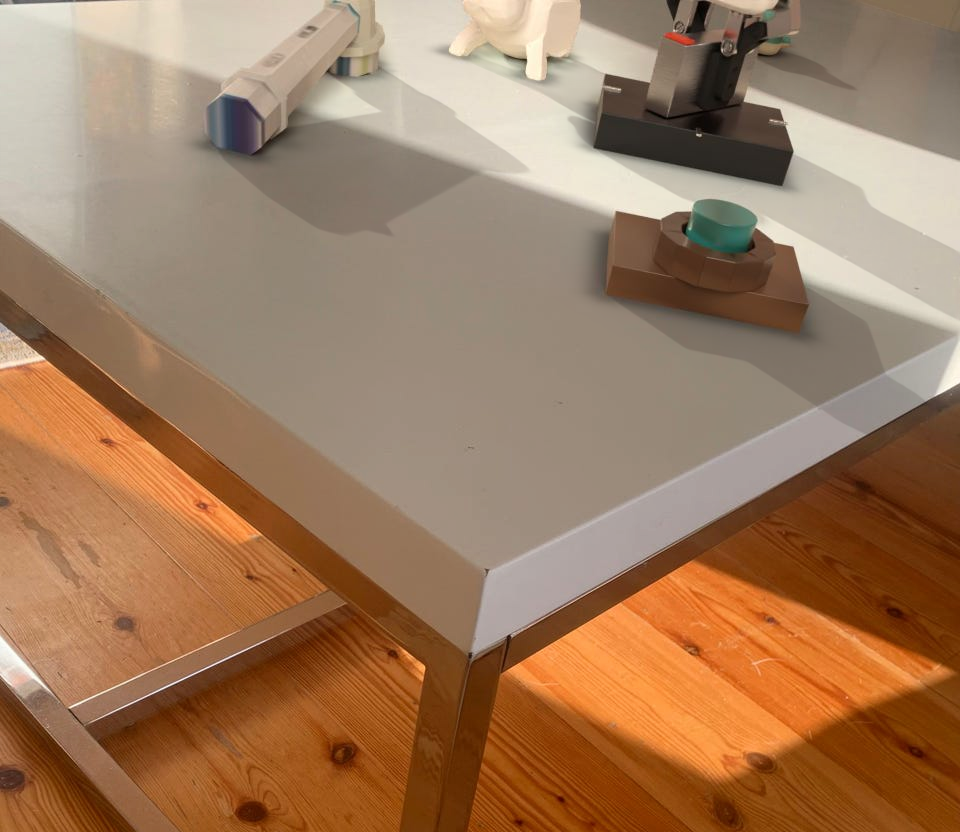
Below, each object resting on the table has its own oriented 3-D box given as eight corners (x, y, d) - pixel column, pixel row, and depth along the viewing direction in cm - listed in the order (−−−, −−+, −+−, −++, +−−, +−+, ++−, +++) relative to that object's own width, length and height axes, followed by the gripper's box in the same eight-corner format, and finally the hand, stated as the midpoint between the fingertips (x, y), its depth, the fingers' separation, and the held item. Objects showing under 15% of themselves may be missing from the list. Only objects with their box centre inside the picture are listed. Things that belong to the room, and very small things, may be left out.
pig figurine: (483, 75, 102) (418, 37, 89) (513, -23, 100) (450, -78, 86) (568, 102, 100) (514, 67, 86) (600, 2, 98) (551, -50, 84)
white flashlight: (190, 84, 68) (331, -47, 85) (196, 185, 72) (329, 42, 90) (272, 104, 67) (397, -31, 84) (273, 205, 72) (391, 57, 89)
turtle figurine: (720, 45, 113) (732, 5, 111) (745, 35, 118) (756, -4, 116) (774, 62, 111) (787, 21, 109) (797, 51, 116) (809, 12, 114)
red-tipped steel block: (720, 93, 88) (740, 23, 85) (743, 103, 87) (764, 32, 84) (643, 108, 82) (662, 32, 79) (666, 118, 81) (686, 42, 78)
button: (745, 235, 64) (755, 206, 63) (750, 261, 61) (760, 231, 60) (683, 223, 64) (692, 193, 63) (685, 248, 61) (694, 217, 60)
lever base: (766, 134, 92) (778, 95, 90) (783, 197, 81) (798, 154, 79) (596, 100, 92) (605, 60, 90) (590, 158, 81) (600, 114, 79)
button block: (782, 279, 69) (803, 218, 67) (797, 345, 62) (822, 279, 60) (607, 244, 69) (622, 181, 67) (603, 306, 62) (620, 238, 60)
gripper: (645, -217, 74) (585, 70, 86) (851, -162, 67) (755, 145, 78) (710, -209, 79) (645, 62, 91) (910, -157, 71) (811, 132, 83)
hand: (696, 98), depth 84 cm, fingers closed on red-tipped steel block, 2 cm apart
